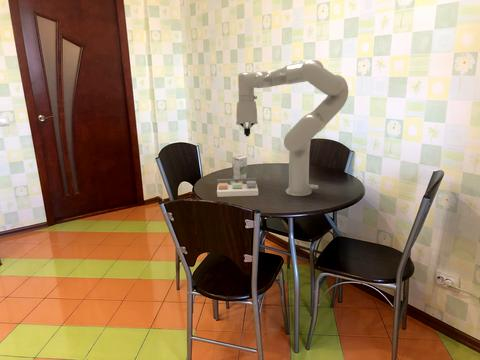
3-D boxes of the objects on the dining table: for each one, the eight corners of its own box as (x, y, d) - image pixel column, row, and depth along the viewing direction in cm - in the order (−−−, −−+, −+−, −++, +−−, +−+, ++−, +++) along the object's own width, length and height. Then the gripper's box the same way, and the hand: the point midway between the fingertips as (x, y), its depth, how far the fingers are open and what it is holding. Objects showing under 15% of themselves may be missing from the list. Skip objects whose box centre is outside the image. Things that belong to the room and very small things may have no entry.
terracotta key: (227, 185, 190) (227, 183, 189) (227, 188, 185) (227, 185, 185) (218, 186, 190) (218, 183, 189) (218, 188, 185) (218, 185, 185)
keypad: (256, 187, 196) (255, 178, 195) (258, 195, 183) (258, 185, 182) (217, 188, 196) (217, 179, 195) (217, 196, 182) (216, 186, 181)
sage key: (241, 185, 190) (241, 182, 190) (242, 187, 186) (241, 185, 185) (232, 185, 190) (232, 182, 189) (232, 188, 185) (232, 185, 185)
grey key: (255, 183, 190) (255, 180, 190) (256, 186, 186) (256, 183, 185) (246, 183, 190) (246, 180, 189) (246, 186, 185) (246, 183, 185)
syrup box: (240, 180, 210) (239, 155, 206) (247, 182, 206) (247, 156, 202) (232, 182, 206) (231, 156, 202) (240, 184, 202) (239, 158, 198)
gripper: (260, 97, 188) (261, 134, 193) (231, 98, 188) (232, 135, 192) (262, 98, 181) (262, 136, 186) (231, 99, 180) (232, 137, 185)
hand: (247, 136), depth 189 cm, fingers closed
